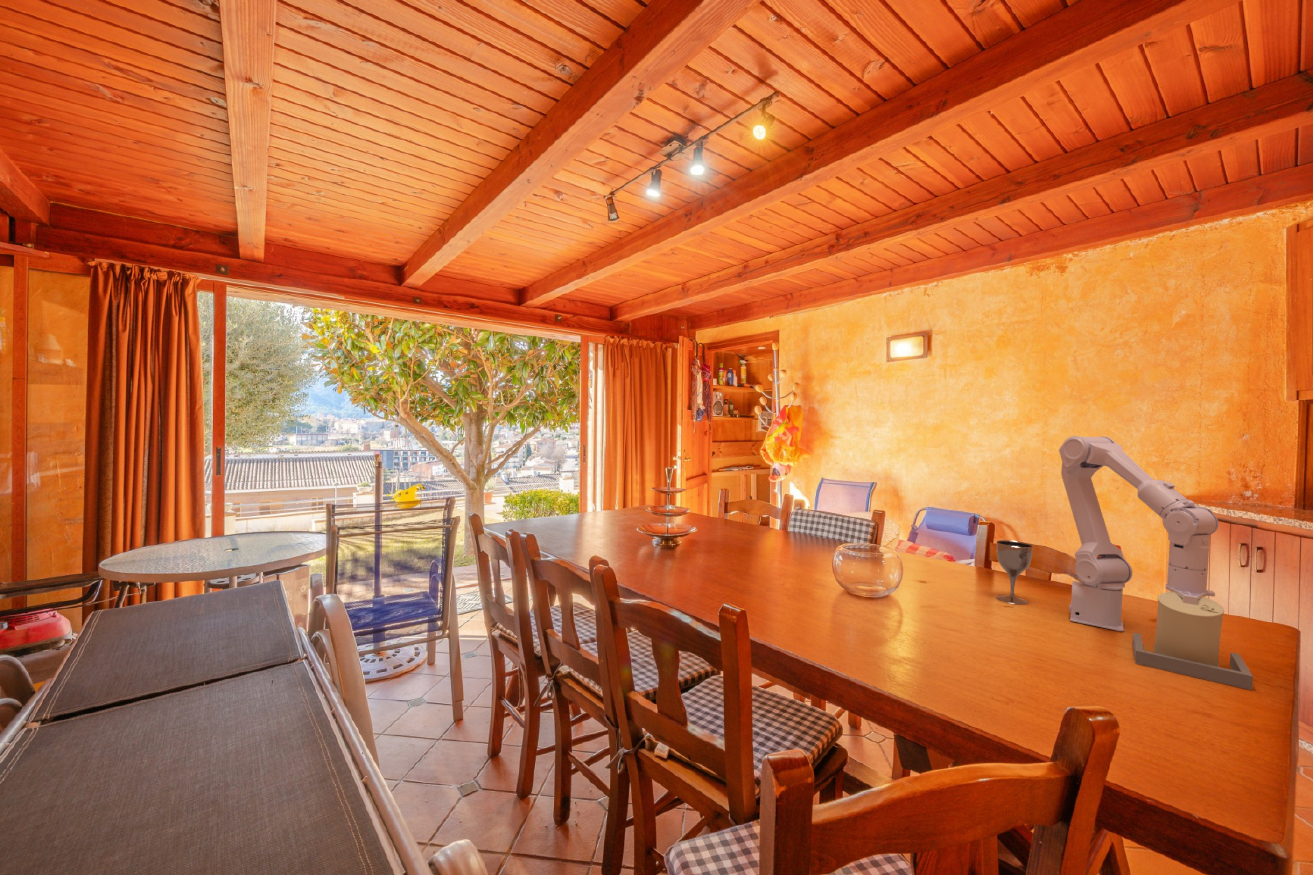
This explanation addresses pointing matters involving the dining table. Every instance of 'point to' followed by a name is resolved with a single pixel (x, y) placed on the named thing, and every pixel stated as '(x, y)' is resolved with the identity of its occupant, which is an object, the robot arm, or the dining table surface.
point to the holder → (1195, 666)
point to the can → (1188, 629)
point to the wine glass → (1013, 564)
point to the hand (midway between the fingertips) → (1183, 632)
